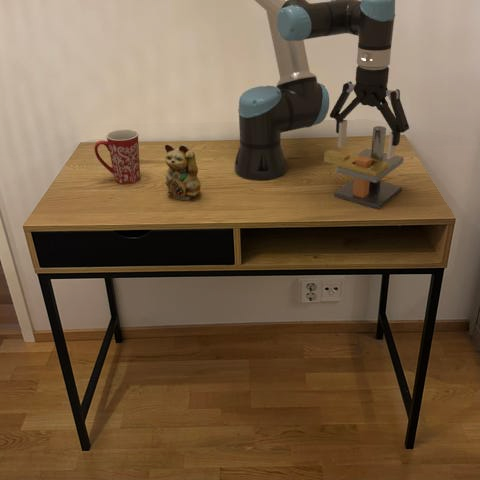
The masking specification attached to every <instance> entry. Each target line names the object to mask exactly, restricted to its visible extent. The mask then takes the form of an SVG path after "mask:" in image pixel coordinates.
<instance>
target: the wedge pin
mask: <svg viewBox="0 0 480 480" xmlns="http://www.w3.org/2000/svg"><path fill="white" fill-rule="evenodd" d="M371 162H372V158H369V157H365V156H360V157H358V158H357V159H356V160H355V165H359V166H363V167H367V168H370V167H371ZM353 179H354V186H353V195H354V196H358V197H362V198H364V197H365V196H366V195H368V194H369V184H370V181H367V180H363V179H359V178H355V177H353Z"/></svg>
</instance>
